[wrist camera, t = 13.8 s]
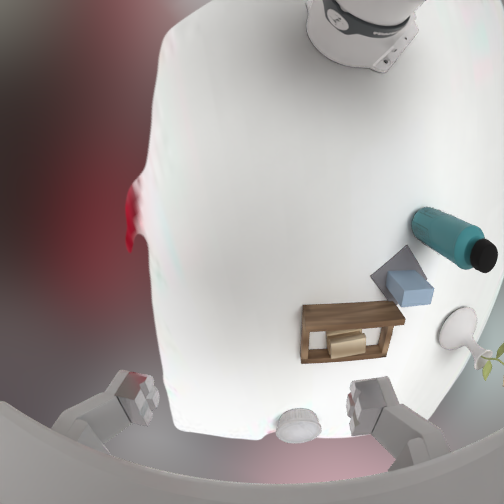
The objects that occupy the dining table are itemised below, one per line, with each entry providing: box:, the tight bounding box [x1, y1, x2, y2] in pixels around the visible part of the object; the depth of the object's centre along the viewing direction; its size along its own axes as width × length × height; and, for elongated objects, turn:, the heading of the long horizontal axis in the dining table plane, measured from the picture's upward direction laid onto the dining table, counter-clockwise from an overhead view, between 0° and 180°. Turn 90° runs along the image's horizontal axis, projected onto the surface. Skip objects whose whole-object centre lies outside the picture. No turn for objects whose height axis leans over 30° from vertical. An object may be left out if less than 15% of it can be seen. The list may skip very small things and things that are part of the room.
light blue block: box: [386, 270, 434, 307], centre depth 42 cm, size 3×6×8 cm, turn 93°
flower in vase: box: [439, 307, 504, 387], centre depth 37 cm, size 13×11×25 cm
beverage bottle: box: [412, 207, 498, 273], centre depth 33 cm, size 6×7×20 cm
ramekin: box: [276, 408, 321, 443], centre depth 59 cm, size 11×11×5 cm
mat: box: [371, 245, 427, 305], centre depth 46 cm, size 9×9×1 cm
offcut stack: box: [326, 329, 366, 359], centre depth 49 cm, size 4×7×4 cm, turn 100°
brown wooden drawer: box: [300, 301, 405, 364], centre depth 48 cm, size 12×18×7 cm, turn 93°
